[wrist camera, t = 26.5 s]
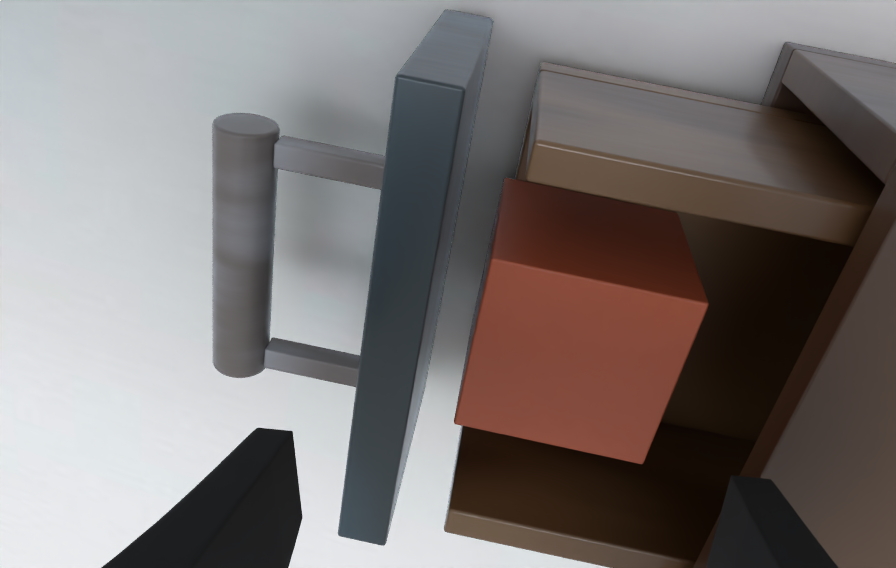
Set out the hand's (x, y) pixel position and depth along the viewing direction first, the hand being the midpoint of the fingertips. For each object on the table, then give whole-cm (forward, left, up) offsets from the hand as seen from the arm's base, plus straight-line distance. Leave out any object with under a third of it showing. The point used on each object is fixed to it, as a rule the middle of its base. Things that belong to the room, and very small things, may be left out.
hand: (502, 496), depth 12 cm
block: (+1, 0, -8) cm, 8 cm away
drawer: (+1, 0, -9) cm, 10 cm away
